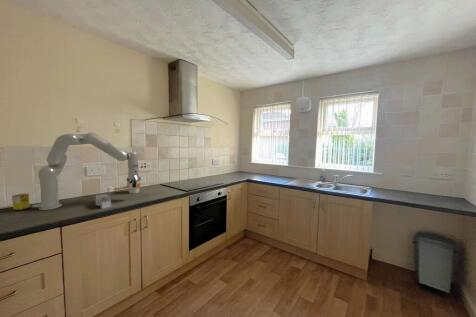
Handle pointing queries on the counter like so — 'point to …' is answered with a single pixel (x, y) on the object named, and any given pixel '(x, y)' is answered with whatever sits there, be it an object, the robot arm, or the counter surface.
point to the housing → (103, 200)
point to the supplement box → (20, 201)
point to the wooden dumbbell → (120, 187)
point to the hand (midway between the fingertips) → (133, 186)
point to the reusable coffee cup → (134, 190)
